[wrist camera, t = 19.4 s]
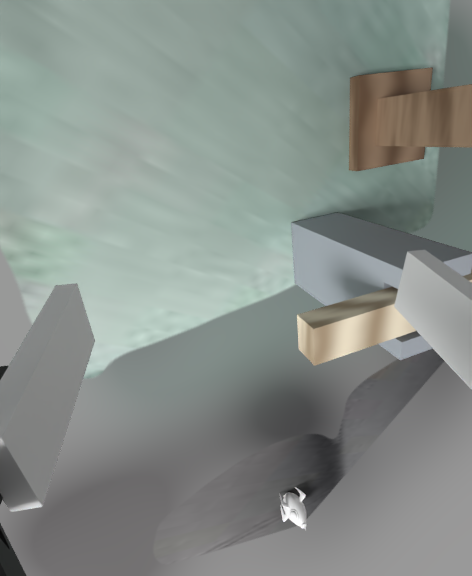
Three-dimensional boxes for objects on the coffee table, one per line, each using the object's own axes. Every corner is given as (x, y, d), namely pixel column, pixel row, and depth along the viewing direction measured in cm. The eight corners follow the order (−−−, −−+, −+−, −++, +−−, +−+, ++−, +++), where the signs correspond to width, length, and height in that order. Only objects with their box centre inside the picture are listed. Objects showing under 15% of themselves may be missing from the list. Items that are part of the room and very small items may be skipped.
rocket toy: (275, 491, 75) (293, 527, 68) (298, 482, 76) (317, 515, 69) (276, 508, 77) (294, 544, 70) (299, 498, 78) (318, 533, 71)
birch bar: (298, 349, 36) (315, 366, 33) (297, 314, 34) (314, 329, 31) (492, 286, 42) (518, 296, 40) (498, 255, 41) (526, 263, 38)
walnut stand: (348, 177, 53) (559, 206, 29) (350, 69, 47) (616, -9, 23) (413, 164, 56) (652, 182, 32) (421, 62, 50) (723, -14, 26)
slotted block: (294, 283, 57) (400, 360, 37) (291, 222, 53) (408, 271, 33) (337, 271, 59) (459, 338, 39) (337, 212, 55) (474, 252, 35)
